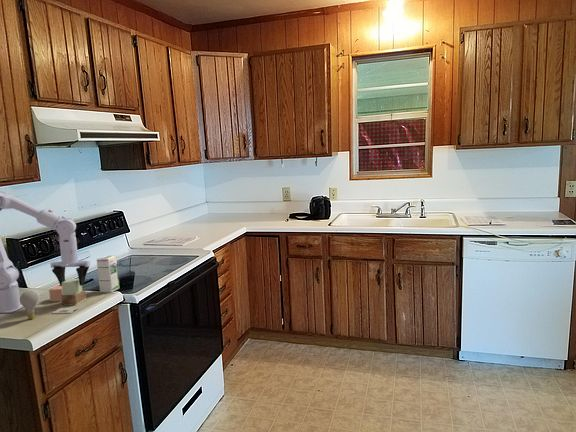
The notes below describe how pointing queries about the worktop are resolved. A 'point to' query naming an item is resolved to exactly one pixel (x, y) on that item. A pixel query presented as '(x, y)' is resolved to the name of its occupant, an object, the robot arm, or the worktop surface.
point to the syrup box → (108, 273)
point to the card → (63, 310)
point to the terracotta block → (56, 293)
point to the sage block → (71, 287)
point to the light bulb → (29, 302)
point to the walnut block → (73, 298)
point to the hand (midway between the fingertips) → (72, 285)
